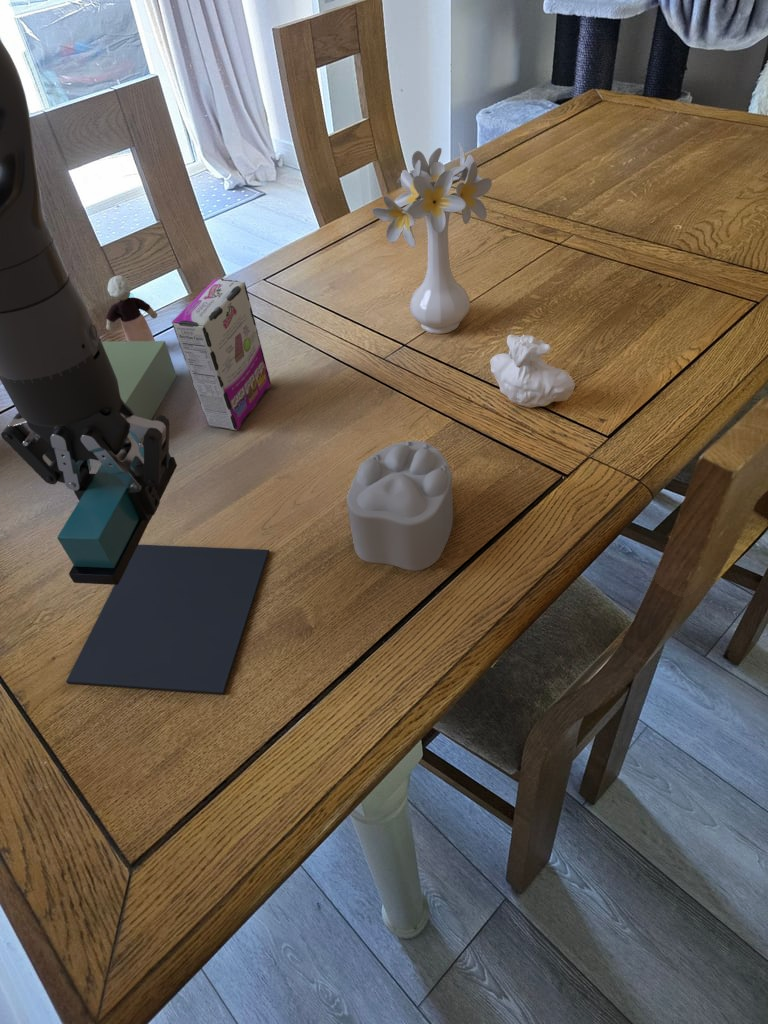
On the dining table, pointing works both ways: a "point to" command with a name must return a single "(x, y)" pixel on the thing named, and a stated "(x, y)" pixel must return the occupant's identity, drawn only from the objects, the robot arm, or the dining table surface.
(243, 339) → the candy bar box
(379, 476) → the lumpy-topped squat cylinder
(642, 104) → the dining table surface
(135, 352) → the stand
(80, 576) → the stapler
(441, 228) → the flower vase
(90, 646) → the mat
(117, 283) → the grandmother figurine
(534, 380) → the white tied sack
